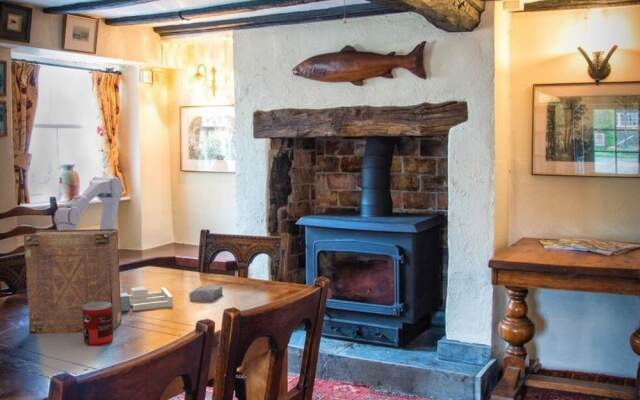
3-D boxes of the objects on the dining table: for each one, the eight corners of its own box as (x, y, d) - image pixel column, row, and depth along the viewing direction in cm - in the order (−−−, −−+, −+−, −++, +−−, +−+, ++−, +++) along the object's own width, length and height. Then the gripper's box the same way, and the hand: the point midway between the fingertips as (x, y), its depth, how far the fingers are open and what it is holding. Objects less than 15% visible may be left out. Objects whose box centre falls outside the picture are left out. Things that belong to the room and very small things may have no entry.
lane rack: (127, 300, 237) (127, 291, 237) (164, 296, 242) (164, 287, 242) (133, 310, 223) (133, 300, 223) (172, 306, 228) (172, 296, 228)
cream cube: (131, 301, 236) (130, 287, 236) (145, 300, 238) (145, 286, 238) (133, 304, 232) (132, 290, 231) (148, 303, 233) (147, 289, 233)
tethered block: (83, 311, 223) (82, 295, 222) (127, 306, 229) (126, 291, 228) (84, 315, 218) (83, 299, 218) (129, 310, 224) (128, 294, 223)
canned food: (88, 338, 193) (86, 301, 192) (116, 337, 194) (114, 300, 193) (80, 347, 186) (78, 308, 184) (110, 345, 186) (108, 307, 185)
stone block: (188, 306, 236) (214, 301, 234) (185, 293, 236) (211, 288, 234) (200, 299, 248) (225, 294, 246) (197, 286, 247) (222, 281, 246)
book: (28, 333, 199) (22, 234, 196) (40, 324, 208) (35, 230, 205) (113, 331, 200) (108, 233, 197) (121, 322, 209) (117, 228, 206)
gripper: (45, 246, 217) (47, 287, 219) (92, 242, 223) (94, 282, 224) (45, 243, 224) (47, 282, 225) (90, 240, 229) (92, 278, 231)
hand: (70, 282), depth 225 cm, fingers open, 7 cm apart
